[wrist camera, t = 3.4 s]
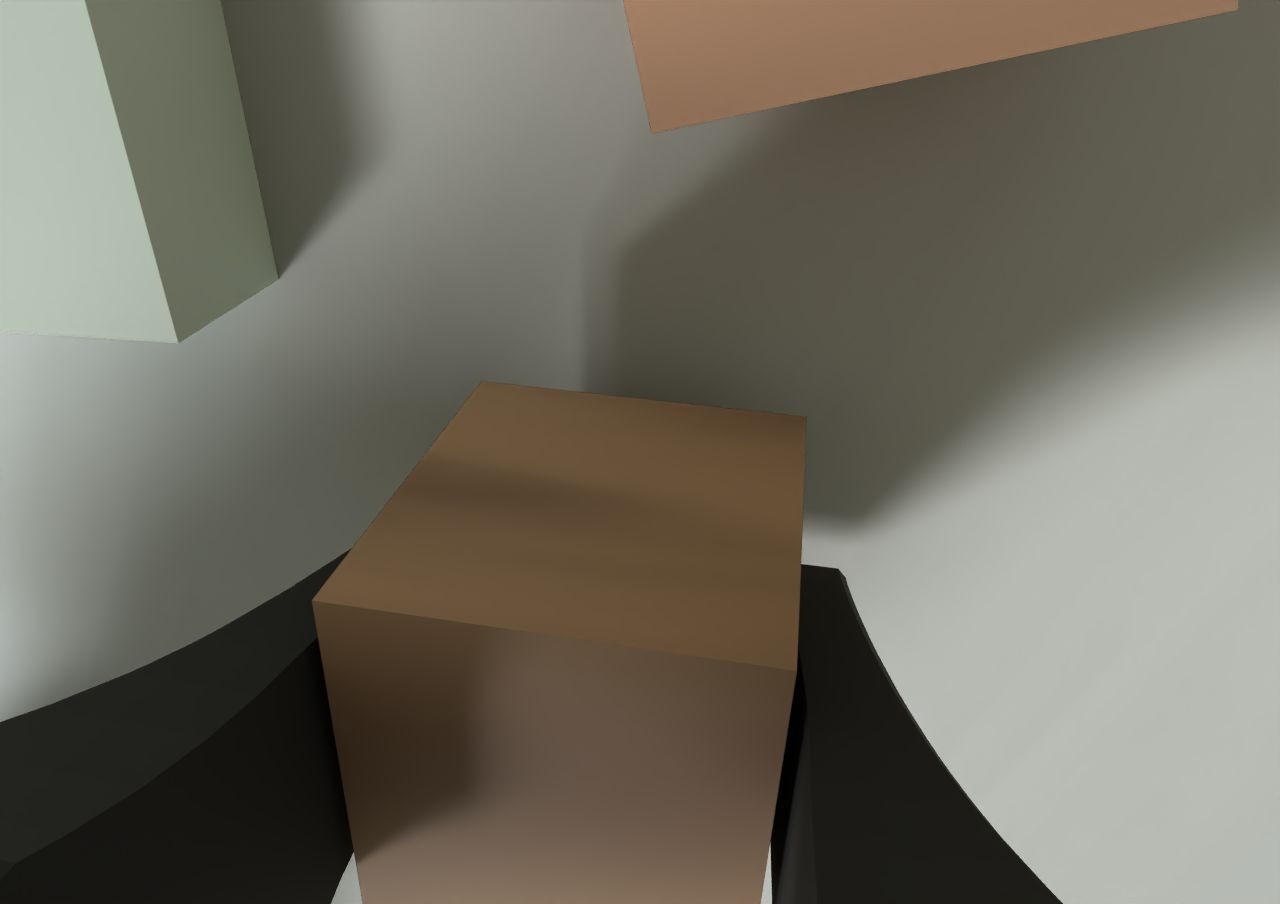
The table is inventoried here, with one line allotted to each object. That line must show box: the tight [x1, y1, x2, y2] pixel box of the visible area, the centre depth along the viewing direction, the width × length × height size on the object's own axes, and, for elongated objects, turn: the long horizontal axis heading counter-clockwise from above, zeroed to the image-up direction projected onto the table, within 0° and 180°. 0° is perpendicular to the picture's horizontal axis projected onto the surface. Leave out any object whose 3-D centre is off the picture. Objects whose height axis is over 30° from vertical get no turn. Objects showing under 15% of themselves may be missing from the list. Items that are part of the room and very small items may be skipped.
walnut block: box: [312, 381, 807, 904], centre depth 12 cm, size 4×4×5 cm
